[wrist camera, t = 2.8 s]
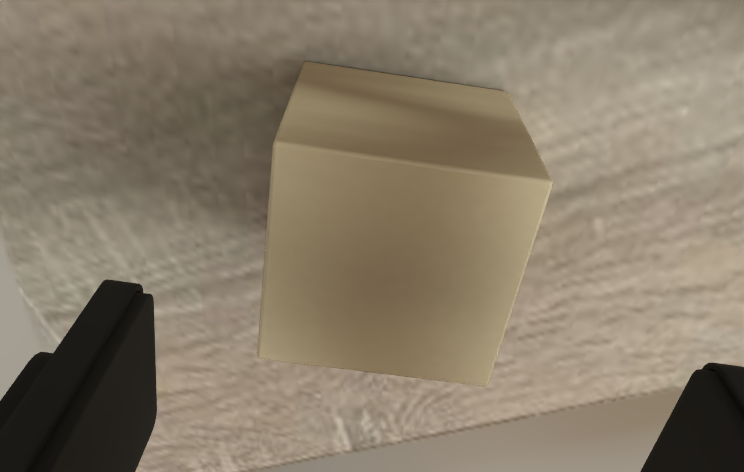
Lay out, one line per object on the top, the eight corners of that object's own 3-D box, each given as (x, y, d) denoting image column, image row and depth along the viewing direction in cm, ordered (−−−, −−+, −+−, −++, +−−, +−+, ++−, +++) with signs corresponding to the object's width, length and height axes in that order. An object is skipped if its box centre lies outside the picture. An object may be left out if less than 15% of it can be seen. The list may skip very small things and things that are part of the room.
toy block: (286, 238, 20) (256, 360, 15) (303, 59, 17) (272, 141, 12) (464, 261, 20) (488, 388, 15) (508, 90, 17) (555, 181, 13)
